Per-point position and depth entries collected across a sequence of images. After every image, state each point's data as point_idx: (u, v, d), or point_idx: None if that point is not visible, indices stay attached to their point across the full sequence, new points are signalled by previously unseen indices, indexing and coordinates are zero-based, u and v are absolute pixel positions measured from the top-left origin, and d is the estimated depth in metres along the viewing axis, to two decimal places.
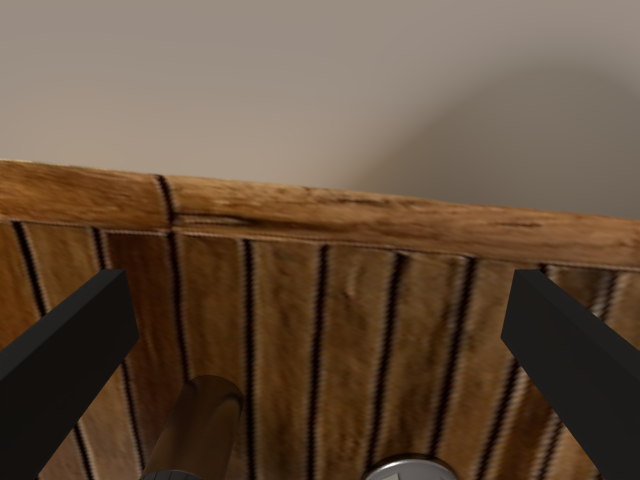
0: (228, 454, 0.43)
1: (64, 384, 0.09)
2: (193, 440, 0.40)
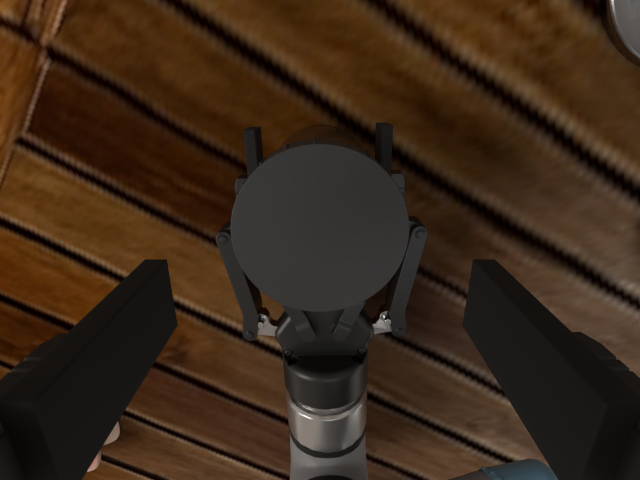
0: (346, 141, 0.25)
1: (122, 363, 0.10)
2: None
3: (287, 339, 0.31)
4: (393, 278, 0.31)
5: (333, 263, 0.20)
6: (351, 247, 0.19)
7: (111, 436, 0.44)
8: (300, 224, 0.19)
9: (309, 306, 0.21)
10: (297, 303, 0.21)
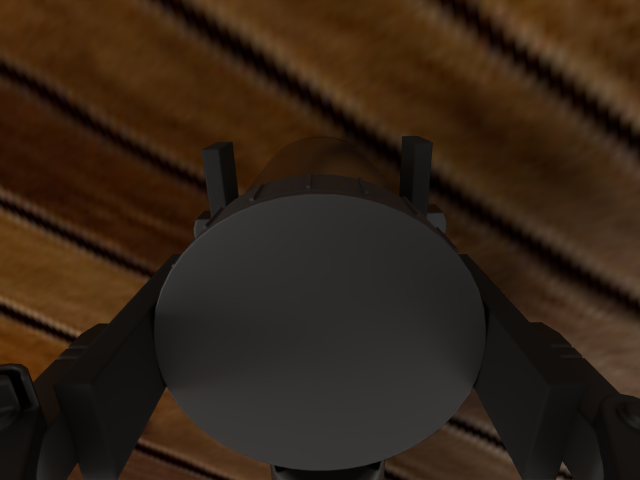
0: (361, 167, 0.16)
1: None
2: None
3: None
4: None
5: (344, 399, 0.11)
6: (377, 374, 0.11)
7: None
8: (283, 337, 0.10)
9: (301, 463, 0.12)
10: (280, 458, 0.12)
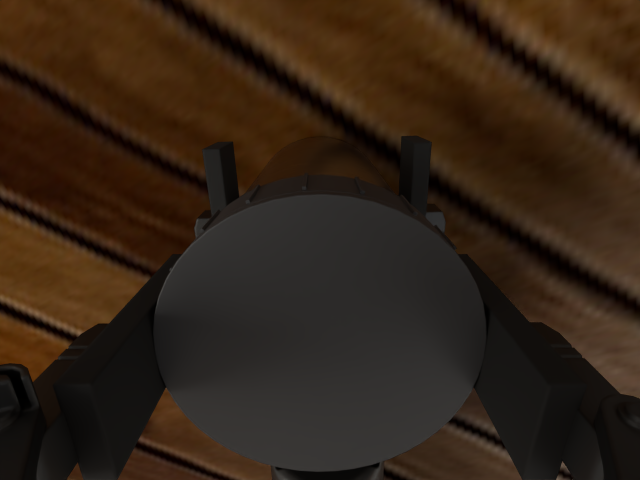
0: (360, 166, 0.16)
1: None
2: None
3: None
4: None
5: (381, 365, 0.10)
6: (375, 325, 0.10)
7: None
8: (282, 369, 0.10)
9: (422, 432, 0.11)
10: (404, 443, 0.12)
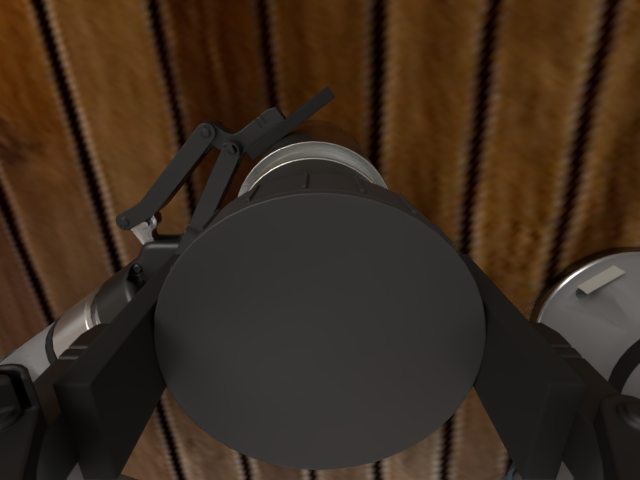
0: None
1: None
2: (327, 134, 0.22)
3: (151, 259, 0.27)
4: None
5: (380, 363, 0.10)
6: (374, 324, 0.10)
7: None
8: (283, 367, 0.11)
9: (422, 430, 0.11)
10: (403, 441, 0.12)
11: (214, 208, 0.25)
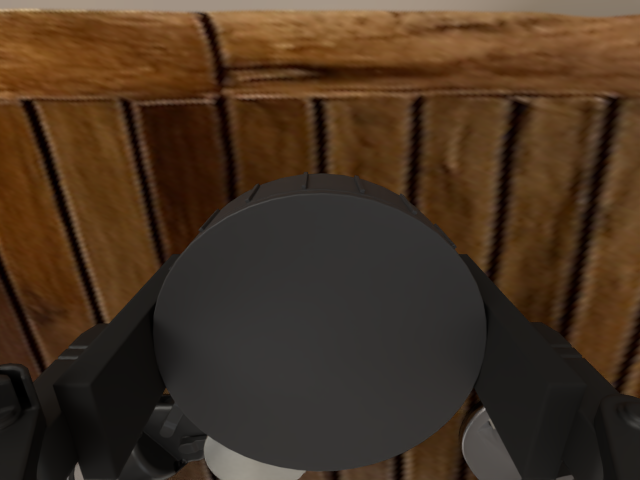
0: None
1: None
2: None
3: None
4: None
5: (381, 364, 0.10)
6: (375, 324, 0.10)
7: None
8: (282, 369, 0.10)
9: (422, 432, 0.11)
10: (404, 442, 0.12)
11: None
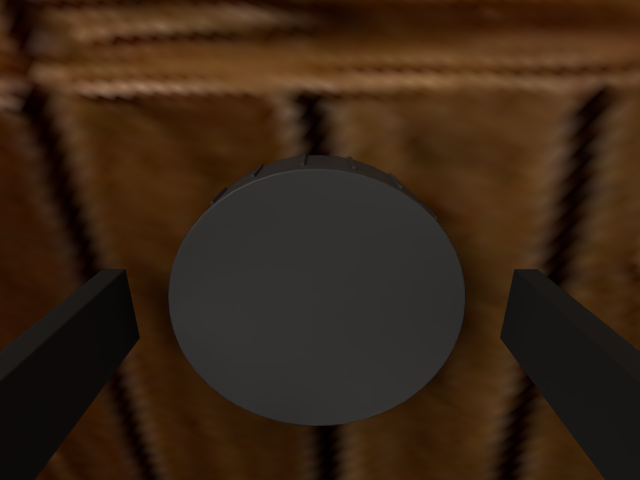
0: None
1: (64, 384, 0.09)
2: None
3: None
4: None
5: (371, 324, 0.12)
6: (365, 288, 0.11)
7: None
8: (284, 329, 0.12)
9: (410, 388, 0.13)
10: (393, 398, 0.13)
11: None
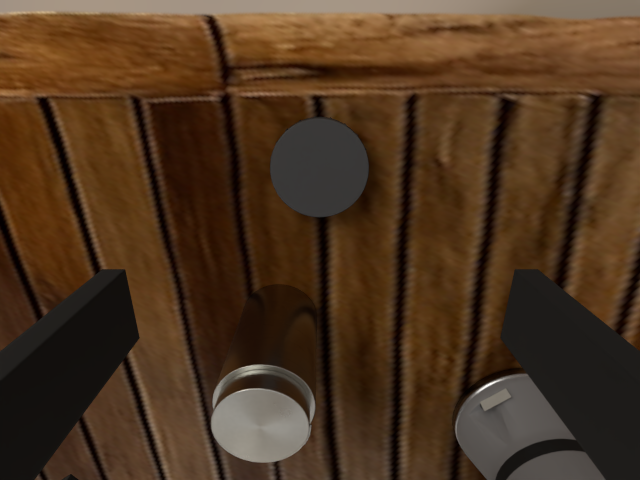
0: (315, 360, 0.35)
1: (64, 384, 0.09)
2: (275, 338, 0.33)
3: None
4: None
5: (337, 173, 0.35)
6: (335, 159, 0.34)
7: None
8: (308, 175, 0.35)
9: (352, 200, 0.36)
10: (346, 204, 0.36)
11: None
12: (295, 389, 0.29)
